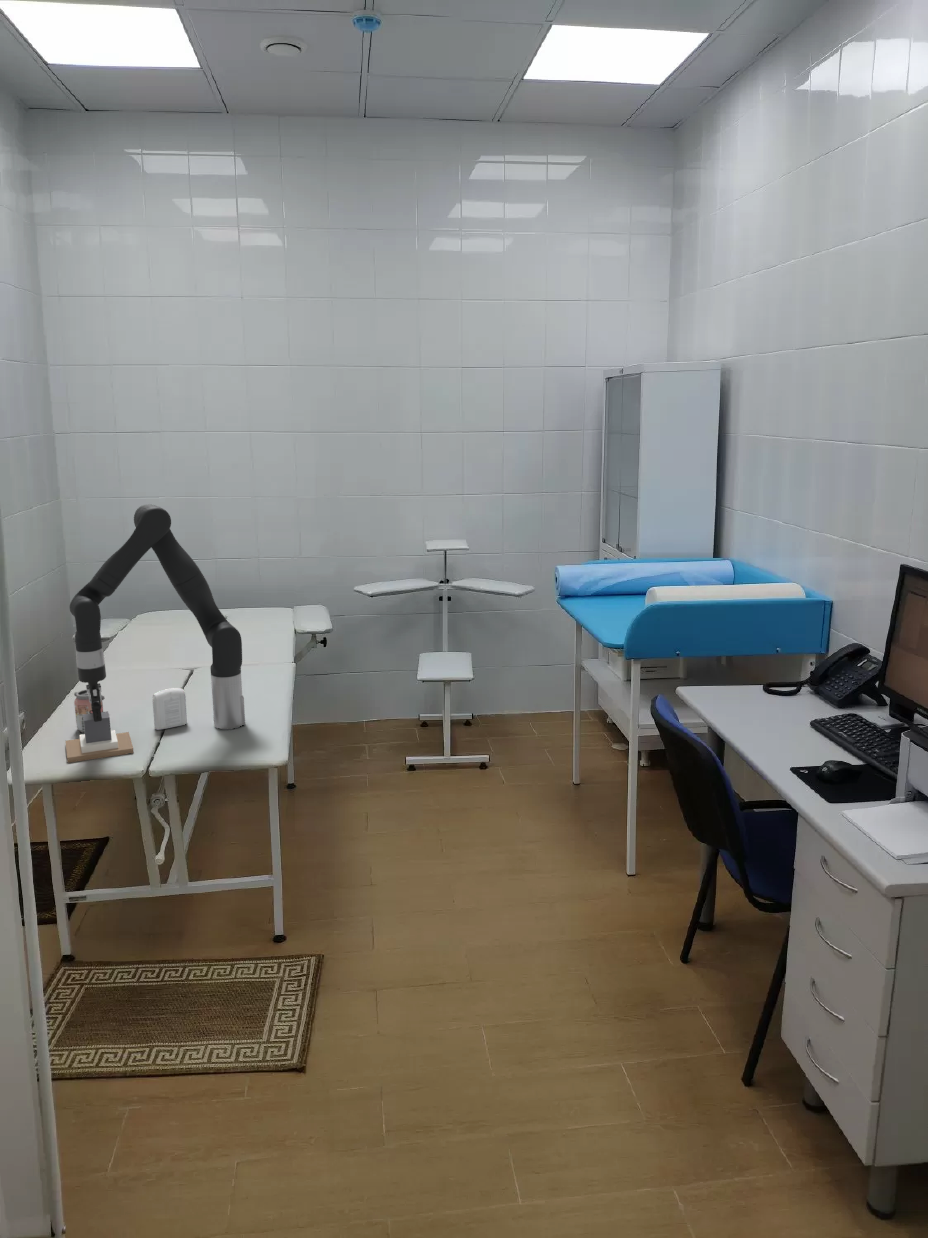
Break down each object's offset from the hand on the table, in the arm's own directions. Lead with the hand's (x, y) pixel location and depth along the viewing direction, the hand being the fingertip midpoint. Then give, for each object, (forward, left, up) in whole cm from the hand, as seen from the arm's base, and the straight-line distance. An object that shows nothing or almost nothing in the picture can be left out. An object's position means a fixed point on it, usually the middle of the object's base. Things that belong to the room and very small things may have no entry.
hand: (96, 716), depth 278 cm
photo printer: (-22, -11, -11) cm, 27 cm away
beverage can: (+1, -19, -11) cm, 22 cm away
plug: (0, 0, -8) cm, 8 cm away
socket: (0, 0, -10) cm, 10 cm away
